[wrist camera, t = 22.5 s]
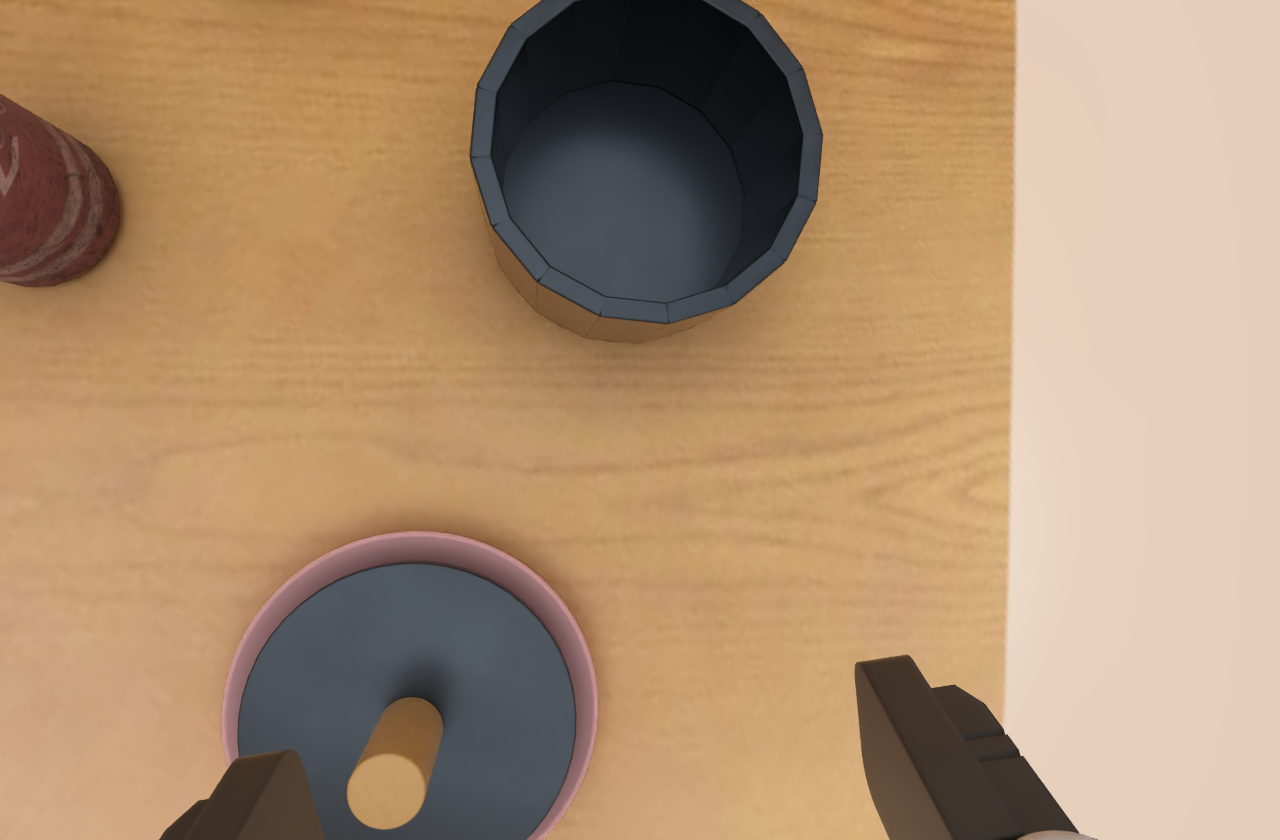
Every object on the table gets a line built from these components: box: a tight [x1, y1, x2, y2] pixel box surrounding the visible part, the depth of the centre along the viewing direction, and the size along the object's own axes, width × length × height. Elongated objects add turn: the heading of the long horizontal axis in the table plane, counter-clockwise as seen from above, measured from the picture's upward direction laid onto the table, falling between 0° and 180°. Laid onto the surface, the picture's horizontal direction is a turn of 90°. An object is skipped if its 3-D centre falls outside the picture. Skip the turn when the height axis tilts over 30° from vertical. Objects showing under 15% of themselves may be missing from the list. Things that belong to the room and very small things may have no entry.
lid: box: [237, 561, 577, 840], centre depth 30 cm, size 12×12×7 cm
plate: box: [221, 531, 598, 840], centre depth 35 cm, size 14×14×2 cm
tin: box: [470, 0, 823, 343], centre depth 32 cm, size 11×11×8 cm
